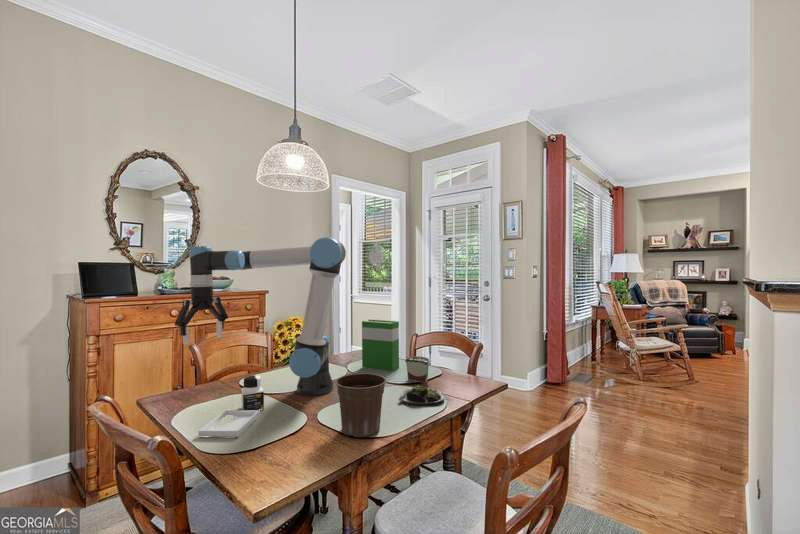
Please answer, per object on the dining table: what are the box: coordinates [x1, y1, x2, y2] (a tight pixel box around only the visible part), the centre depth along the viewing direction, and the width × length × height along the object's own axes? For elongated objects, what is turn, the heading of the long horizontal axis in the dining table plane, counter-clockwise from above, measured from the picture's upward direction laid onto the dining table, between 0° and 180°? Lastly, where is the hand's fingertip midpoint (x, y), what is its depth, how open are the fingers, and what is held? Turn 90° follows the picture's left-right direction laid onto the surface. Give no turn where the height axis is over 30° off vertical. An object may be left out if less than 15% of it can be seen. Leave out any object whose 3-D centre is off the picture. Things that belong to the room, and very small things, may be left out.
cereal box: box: [361, 319, 400, 372], centre depth 194 cm, size 18×7×24 cm, turn 64°
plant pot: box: [335, 372, 387, 438], centre depth 122 cm, size 16×16×16 cm
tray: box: [197, 409, 261, 438], centre depth 125 cm, size 13×17×2 cm
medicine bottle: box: [240, 374, 265, 410], centre depth 140 cm, size 7×7×12 cm
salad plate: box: [398, 384, 445, 407], centre depth 151 cm, size 19×18×5 cm
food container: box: [404, 356, 431, 384], centre depth 174 cm, size 12×6×10 cm, turn 58°
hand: (203, 340), depth 146 cm, fingers open, 13 cm apart
